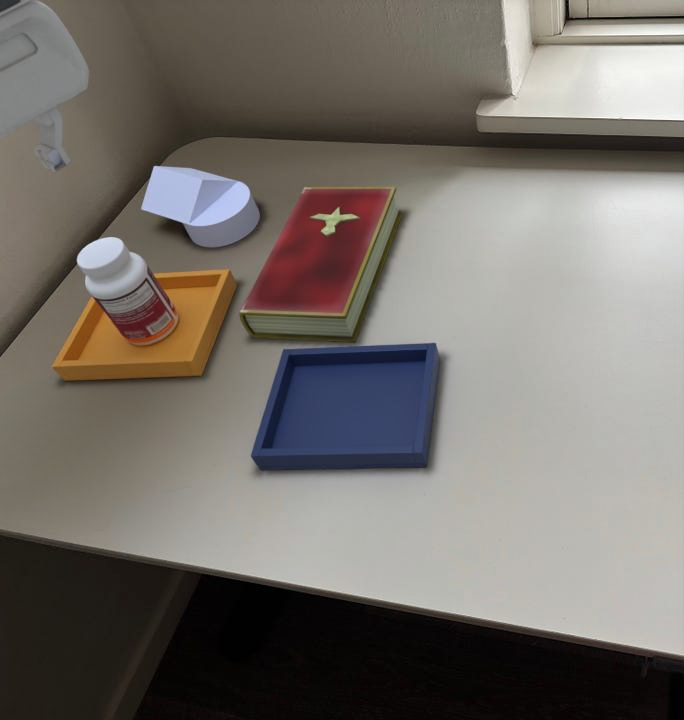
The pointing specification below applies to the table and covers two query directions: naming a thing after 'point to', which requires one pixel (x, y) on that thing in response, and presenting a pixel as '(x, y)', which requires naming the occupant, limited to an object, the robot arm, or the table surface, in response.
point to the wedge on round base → (202, 204)
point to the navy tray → (349, 408)
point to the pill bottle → (127, 291)
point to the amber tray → (161, 359)
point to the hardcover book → (324, 265)
